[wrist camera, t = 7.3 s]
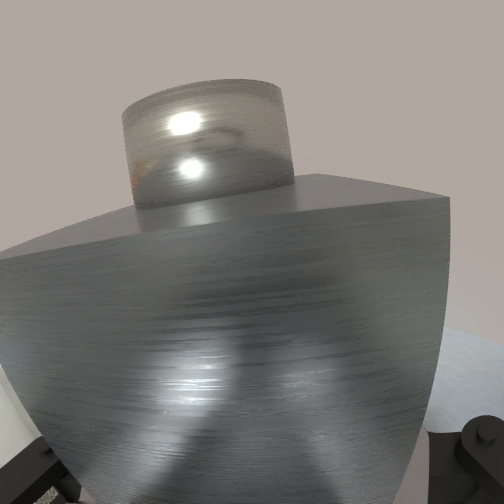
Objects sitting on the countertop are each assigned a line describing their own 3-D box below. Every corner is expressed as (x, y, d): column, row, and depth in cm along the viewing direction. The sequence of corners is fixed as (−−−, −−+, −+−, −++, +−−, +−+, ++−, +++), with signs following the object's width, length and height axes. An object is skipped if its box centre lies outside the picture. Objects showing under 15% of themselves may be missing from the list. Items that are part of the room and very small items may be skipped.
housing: (333, 471, 12) (316, 119, 8) (345, 598, 5) (448, -29, 1) (236, 477, 13) (153, 146, 9) (216, 601, 5) (-80, 138, 2)
